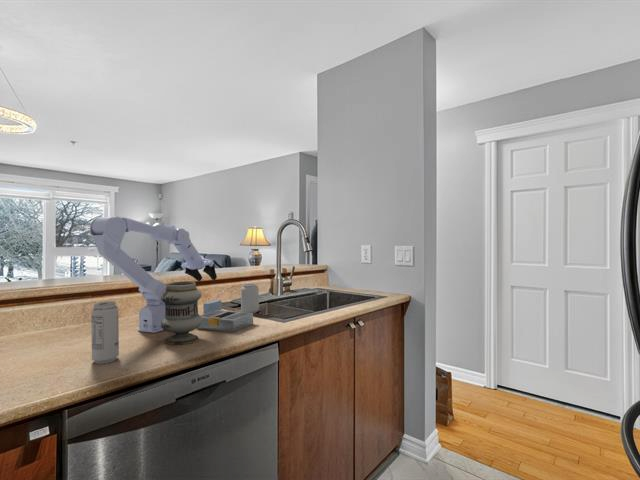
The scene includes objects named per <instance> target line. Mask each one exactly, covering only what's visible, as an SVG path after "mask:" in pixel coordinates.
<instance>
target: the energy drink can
mask: <svg viewBox="0 0 640 480" xmlns="http://www.w3.org/2000/svg"><path fill="white" fill-rule="evenodd" d="M90 313H91V316H90V317H91V322H90V323H91V360H92V361H93V362H94V363H95V364H98V365H102V364H108V363H112V362H114V361H116V360H117V357H118V356H119V355H120V351H119V349H120V348H119V347H120V346H119V344H120V341H119V337H120V336H119V333H120V332H119V331H120V330H119V307H118V305H117V303H116V302H115V301H102V302H96V303H94V304H93V308H92V309H91V312H90Z"/></svg>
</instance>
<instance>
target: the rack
mask: <svg viewBox="0 0 640 480" xmlns="http://www.w3.org/2000/svg"><path fill="white" fill-rule="evenodd" d="M199 315H200V316H201V317H202V324H201V325H200V326H199V327H198V328H197V329H199V330H207V331H208V330H209V331H216V332H217V331H218V332H223V333H224V332H226V333H235V332H237V331H240V330H243V329H244V328H247V327H249V326H251V325H253V324H254V313H248V312H242V311H236V310H235V311H234V310H226V309H225V310H224V309H222V310H215V311H212V312H209V313H206V314H204V313H202V314H199Z"/></svg>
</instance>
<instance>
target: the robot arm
mask: <svg viewBox="0 0 640 480" xmlns="http://www.w3.org/2000/svg"><path fill="white" fill-rule="evenodd" d="M129 232H135V233H140V234H147V235H149V236H150V238H151V240H152V239H153V240H158V241H161V242H165V243H167V244H170V245H173V246H174V247H175V249H176V250H177V251H178V253H179V254H180V255H181V257H182V258H183V261H185V262H182V263H181V266H180V267H181V268H182V269H183V270H185V271H184V274H185V275H188V276H191V277H192V278H194V279H195V280H196V281H198V282H201V281H202V280H203V276H202V274H201V273H200V271H199V269H200V268H203V267H204V269H203V270H202V272H203V273H205V274H207V275H208V276H209V278H210V279H211V280H212V281H215V280H216V279H217V273H216V267H215V261H214V260H212V259H208V258H204V256H203V255H201V254H200V253H199V251H198V250H197V249H196V247H195V246H194V244H193V243H192V241H191V239H190V232H189V231H187V230H186V229H184V228H176V226H174V225H171V226H169V225H166V224H165V223H164V222H162V221H161V222H160V221H159V222H155V223H154V224H148V223H146V222H141V221H138V220H135V219H132V218H128V217H120V216H118V215H117V216H110V217H109V216H108V217H102V216H101V217H95V218H94V219H93V220H92V221H91V222H90V225H89V236H91V237H92V239H93V241H94V243H95V244H94V245H95V247H96V249H97V252H98V254H99V255H100V256H101V257H102V258H103V259H105V260H106V261H107V262H109V264H111V265H112V266H113V267H114V268H116V270H117V271H118V272H120V273H122V274H123V275H124V276H125V277H126V278H127V279H128V280H130V281H131V282H132V283H133V284H134V285H136V286H137V287H138V291H139V292H140V293H141V296H142V298H143V299H144V300H145V303H146V305H145V306H143V307H141V308H140V310H139V312H138V329H137V332H142V333H152V334H156V333H159V332H163V331H165V330H164V329H163V328H162V327H161V321H162V319H163V318H164V317H165V302H163V301H162V300H161V295H162V293H163V292H164V291H165V290H166V287H167V284H165V283H164V282H162V281H160V280H159V279H156V278H154V277H153V276H152V275H151V274H150V273H149V272H147V271H146V270H145V269H144V267H142V266H141V265H140V264H139V263H137V261H135V260H134V258H132V257H131V256H130V255H128V253H126V252H125V251H124V250H123V249H122V248H121V245H122V242H123V239H124V237H125V234H126V233H129Z"/></svg>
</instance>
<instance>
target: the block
mask: <svg viewBox="0 0 640 480" xmlns="http://www.w3.org/2000/svg"><path fill="white" fill-rule="evenodd" d="M202 304H203V308H202V309H203V314H206V313H209V312H212V311H215V310H223V309H222V300H221V299H220V300H219V299H214V300H212V301H207V302H203V303H202Z"/></svg>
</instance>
